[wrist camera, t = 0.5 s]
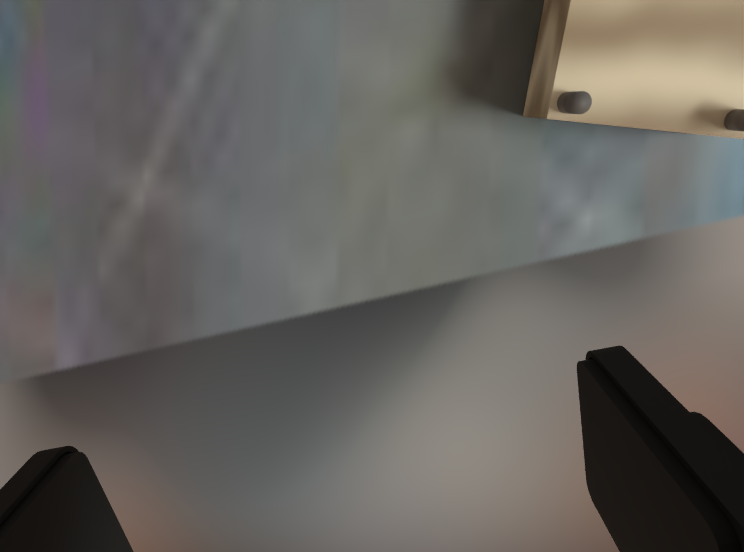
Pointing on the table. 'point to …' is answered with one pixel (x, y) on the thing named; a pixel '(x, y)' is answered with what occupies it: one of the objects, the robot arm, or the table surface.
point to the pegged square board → (641, 65)
